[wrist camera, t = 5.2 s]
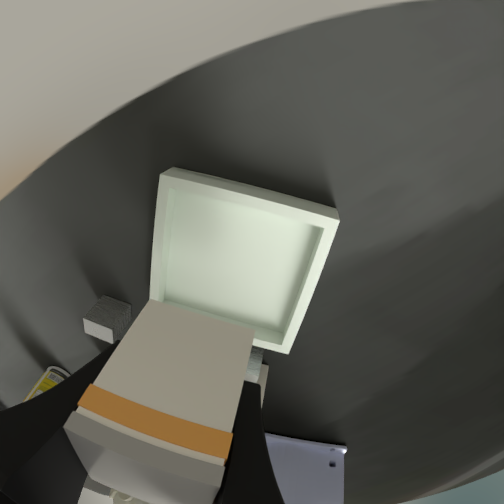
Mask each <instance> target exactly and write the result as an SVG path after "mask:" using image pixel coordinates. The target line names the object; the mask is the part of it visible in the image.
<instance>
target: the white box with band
mask: <svg viewBox="0 0 504 504" xmlns="http://www.w3.org/2000/svg"><path fill="white" fill-rule="evenodd" d="M255 331H256V330H254V329H250V328H247V327H243V326H239V325H236V324H232V323H229V322H225V321H222V320H218V319H215V318H211V317H208V316H204V315H201V314H198V313H194V312H191V311H188V310H185V309H181V308H178V307H175V306H172V305H169V304H165V303H162V302H159V301H156V300H153V299H150V300H149V301H148V302H147V304H146V305H145V307H144V308H143V310H142V311H141V312H140V314H139V315H138V317H137V318H136V320H135V321H134V323H133V324H132V326H131V327H130V328H129V330H128V331H127V333H126V334H125V336H124V337H123V339H122V340H121V342H120V343H119V345H118V346H117V348H116V349H115V351H114V352H113V354H112V355H111V357H110V358H109V360H108V361H107V363H106V364H105V366H104V367H103V369H102V371H101V372H100V374H99V375H98V377H97V378H96V380H95V381H94V383H93V384H91V383H90V385H89V386H88V388H87V389H86V391H85V393H84V394H83V396H82V397H81V399H80V400H79V402H78V408H77V410H76V412H75V411H73V412H72V413H71V415H70V416H69V418H68V420H67V421H66V423H65V425H64V426H63V428H64V430H65V432H66V434H67V436H68V438H69V440H70V442H71V444H72V446H73V448H74V449H75V451H76V453H77V455H78V457H79V459H80V460H81V462H82V464H83V466H84V468H85V469H86V471H87V473H88V474H89V476H90V478H91V479H93V480H95V481H97V482H99V483H101V484H104V485H106V486H108V487H110V488H113V489H115V490H117V491H120V492H122V493H125V494H127V495H129V496H132V497H135V498H137V499H140V500H143V501H145V502H148V503H151V504H212V502H213V500H214V498H215V496H216V494H217V492H218V490H219V488H220V486H221V482H222V478H223V474H224V470H225V467H224V465H225V463H226V460H227V457H228V453H229V449H230V445H231V441H232V437H233V433H231V432H232V428H233V424H234V420H235V416H236V412H237V408H238V403H239V399H240V395H241V391H242V387H243V382H244V378H245V374H246V370H247V365H248V361H249V357H250V352H251V348H252V344H253V339H254V335H255Z"/></svg>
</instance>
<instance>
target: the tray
mask: <svg viewBox="0 0 504 504" xmlns="http://www.w3.org/2000/svg"><path fill="white" fill-rule="evenodd" d="M339 221H340V219H339V216H338V212H337V209H336V208H333V207H329V206H326V205H322V204H319V203H316V202H312V201H309V200H305V199H301V198H298V197H294V196H291V195H287V194H283V193H279V192H276V191H272V190H268V189H264V188H260V187H257V186H253V185H249V184H245V183H241V182H237V181H233V180H229V179H225V178H220V177H216V176H212V175H208V174H203V173H199V172H195V171H190V170H186V169H181V168H177V167H172V168H170V169H168V170H167V171H165V172H163V173H161V174H160V178H159V186H158V195H157V204H156V214H155V224H154V235H153V248H152V262H151V278H150V299H153V300H156V301H159V302H162V303H165V304H169V305H172V306H175V307H178V308H181V309H185V310H188V311H191V312H194V313H198V314H201V315H204V316H208V317H211V318H215V319H218V320H222V321H225V322H229V323H232V324H236V325H239V326H243V327H247V328H250V329H254V330H256V331H255V335H254V339H253V344H252V345H254V346H257V347H261V348H265V349H269V350H273V351H277V352H281V353H285V354H289V351H290V349H291V347H292V344H293V342H294V339H295V337H296V335H297V332H298V330H299V327H300V325H301V323H302V320H303V318H304V315H305V313H306V310H307V308H308V305H309V303H310V300H311V297H312V295H313V292H314V290H315V287H316V285H317V282H318V279H319V277H320V274H321V271H322V269H323V266H324V263H325V261H326V258H327V255H328V252H329V250H330V247H331V244H332V241H333V239H334V236H335V233H336V230H337V227H338V224H339ZM150 299H149V300H150Z"/></svg>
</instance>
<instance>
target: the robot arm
mask: <svg viewBox="0 0 504 504" xmlns="http://www.w3.org/2000/svg"><path fill="white" fill-rule="evenodd" d="M120 342H121V341H120V340H117V341H115V342H114V343H113V344H112V345H110V346H109V347H108V348H107V349H105V350H104V351H103V352H102V353H100V354H99V355H98V356H97V357H95V358H94V359H93V360H91V361H90V362H89V363H87V364H86V365H85V366H83V367H82V368H81V369H79V370H78V371H76V372H75V373H74V374H72V375H71V376H69V377H68V378H66V379H64V380H63V381H61V382H60V383H58V384H57V385H55V386H54V387H52V388H50V389H48V390H47V391H45V392H43V393H41V394H39V395H37V396H35V397H33V398H31V399H29V400H27V401H25V402H23V403H20V404H18V405H16V406H13V407H11V408H8V409H5V410H2V411H0V504H77V503H78V500H79V497H80V494H81V491H82V488H83V485H84V482H85V480H86V477H87V474H88V473H87V471H86V469H85V468H84V466H83V464H82V462H81V460H80V459H79V457H78V455H77V453H76V451H75V449H74V448H73V446H72V444H71V442H70V440H69V438H68V436H67V434H66V432H65V430H64V428H63V426H64V425H65V423H66V421H67V420H68V418H69V416H70V415H71V413H72V412H73V411H75V412H76V410H77V408H78V402H79V400H80V399H81V397H82V396H83V394H84V393H85V391H86V389H87V388H88V386H89V385H90V383H91V384H93V383H94V381H95V380H96V378H97V377H98V375H99V374H100V372H101V371H102V369H103V367H104V366H105V364H106V363H107V361H108V360H109V358H110V357H111V355H112V354H113V352H114V351H115V349H116V348H117V346H118V345H119V343H120ZM231 433H233V437H232V441H231V445H230V449H229V453H228V457H227V460H226V463H225V465H224V467H225V470H224V474H223V478H222V482H221V486H220V488H219V490H218V492H217V494H216V496H215V498H214V501H213V504H343V500H344V453H345V452H346V451H347V447H346V446H341V445H333V444H325V443H318V442H312V441H306V440H300V439H294V438H289V437H284V436H278V435H274V434H269V433H265V432H264V426H263V418H262V408H261V386H260V384H257V383H253V382H249V381H246V380H244V382H243V387H242V391H241V395H240V399H239V403H238V408H237V412H236V416H235V420H234V424H233V428H232V432H231Z"/></svg>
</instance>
